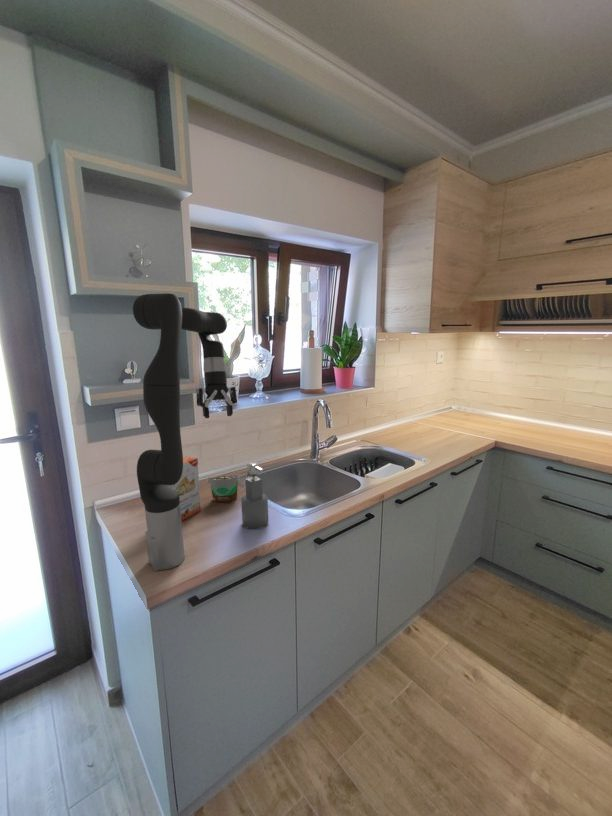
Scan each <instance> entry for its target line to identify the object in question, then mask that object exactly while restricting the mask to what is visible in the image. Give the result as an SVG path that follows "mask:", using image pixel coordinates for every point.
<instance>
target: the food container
mask: <svg viewBox="0 0 612 816" xmlns="http://www.w3.org/2000/svg"><path fill="white" fill-rule="evenodd" d="M240 478H241V477H240V474H237V475H236V474H234V475H222V476H219V477H212V478H211V477H210V476H208V480H207V483H208V484H209V486H210V490H211V491H210V492H211V495H212V500H213V502H214V503H215V504H219V505H223V504H230V503H234V501H236V500H237V499H238V486H239V484H238V483H239V481H240Z"/></svg>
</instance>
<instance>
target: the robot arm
mask: <svg viewBox="0 0 612 816" xmlns="http://www.w3.org/2000/svg"><path fill="white" fill-rule="evenodd" d="M132 313H133V318H134V320H135V322H137V324H138V325H139V326H140V327H142V328H144V329H147V330H160V340H159V346H158V349H157V351H156V353H155V356H154V357H153V359H152V360H151V361H150V364H149V365H148V367H147V369H146V371H145V373H144V376H143V381H142V386H143V393H142V394H143V405H144V407H145V409H146V412H147V413H148V415H149V417H150V419H151V420H152V423H153V424H154V426H155V427H156V430H157V433H158V435H159V438H160V449H147V450H144V451H143V452H142V453H141V454H140V455H139V457H138V459H137V464H136V477H137V483H138V484H137V485H138V489H139V495H140V499H141V501H142V503H143V504H144V512H145V519H146V520H145V521H146V529H147V531H145V542H146V550H147V551H146V552H147V559H148V563H149V565H150V566H151V568H152V570H154V572H158V571H165V570H170V569H173V568H176V567H177V566H179V565H180V564H182V563H183V562H184V560H185V559H186V558H185V557H186V554H185V547H184V544H185V543H184V535H183V523H182V522H183V521H182V520H181V509H180V498H179V494H178V493H177V492H176V491H175V490H173V489H171V488H170V487H169V486H167V485H174V484H176V483H177V482H178V481H179V480H180V478H181V475H182V472H183V457H184V455H183V446H182V437H181V425H180V424H181V417H180V413H181V412H180V409H181V408H180V407H181V406H180V405H181V404H180V402H181V386H180V385H181V383H180V382H181V381H180V349H181V348H180V347H181V339H182V338H181V337H182V330H183V331H188V332H194V333H197V334H198V337H199V340H200V343H201V346H202V355H203V357H202V358H203V376H204V386H205V387H204V388H202V387H200V388H196V392H195V393H196V406H198V407H201V408H202V415H203V417H204V418H205V419H209V418H210V410H209V409H210V407H209V405H210V404H211V402H212V401H217V400H218V401H220V400H222V401H223V402H224V403H225V405H226V416H227V417H232V415H233V412H234V411H233V405H235V404H238V397H237V391H236V387H235V386H232V387H228V386H227V385H228V382H227V381H228V380H227V368H226V367H227V366H226V362H225V361H226V360H225V352H224V344H223V342H221V341H219V340H212V338H211V336H212V335H220V334H223V333H225V331H226V329H227V327H228V322H227V319H226V318H225V316H224V315H223V314H221V313H219V312H216V311H215V312H213V311H203V310H200V309H195V308H190V307H182V304H181V301H180V299H179V298H178V297H177V295H176V294H173V293H167V292H165V293H146V294H142V295H139V296H137V298H135V300H134V302H133V305H132ZM228 393H229V395H230V396H228ZM204 395H206V396H205V398H204V397H203V396H204Z"/></svg>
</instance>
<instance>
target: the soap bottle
mask: <svg viewBox="0 0 612 816" xmlns="http://www.w3.org/2000/svg"><path fill="white" fill-rule="evenodd" d="M268 498H269V497H268V496H267V495H266V493H263V480H262V478H260V477H258V476H255V480H252V477H251V476H250V477H248V478H245V495H243V496H242V497H241V498H240V502H241V504H240V505H241V518H242V519H241V521H242V523H241V525H242V526H243V527H244V528H245V529H248V530H259V529H262V527H263V528H265V527H266V526H267V525H268V524H269V502H268ZM264 526H265V527H264Z"/></svg>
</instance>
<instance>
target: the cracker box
mask: <svg viewBox="0 0 612 816" xmlns="http://www.w3.org/2000/svg"><path fill="white" fill-rule="evenodd" d="M198 462H199V461H198V457H194V456H188V455H186V456H183V472H182V475H181V478H180V480H179V481H178V482H177V483H176V484H174V485H167V486H169V487H170V488H171V489H173V490H175V491H176V492H177V493H178V494H179V498H180V509H181V520H182V522H183V521H184V520H186V519H188V518H190V517H192V516H193V515H195V514H197V513H199V512H200V511H201V496H200V495H201V494H200V491H201V490H200V477H199V476H200V475H199V463H198Z"/></svg>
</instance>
